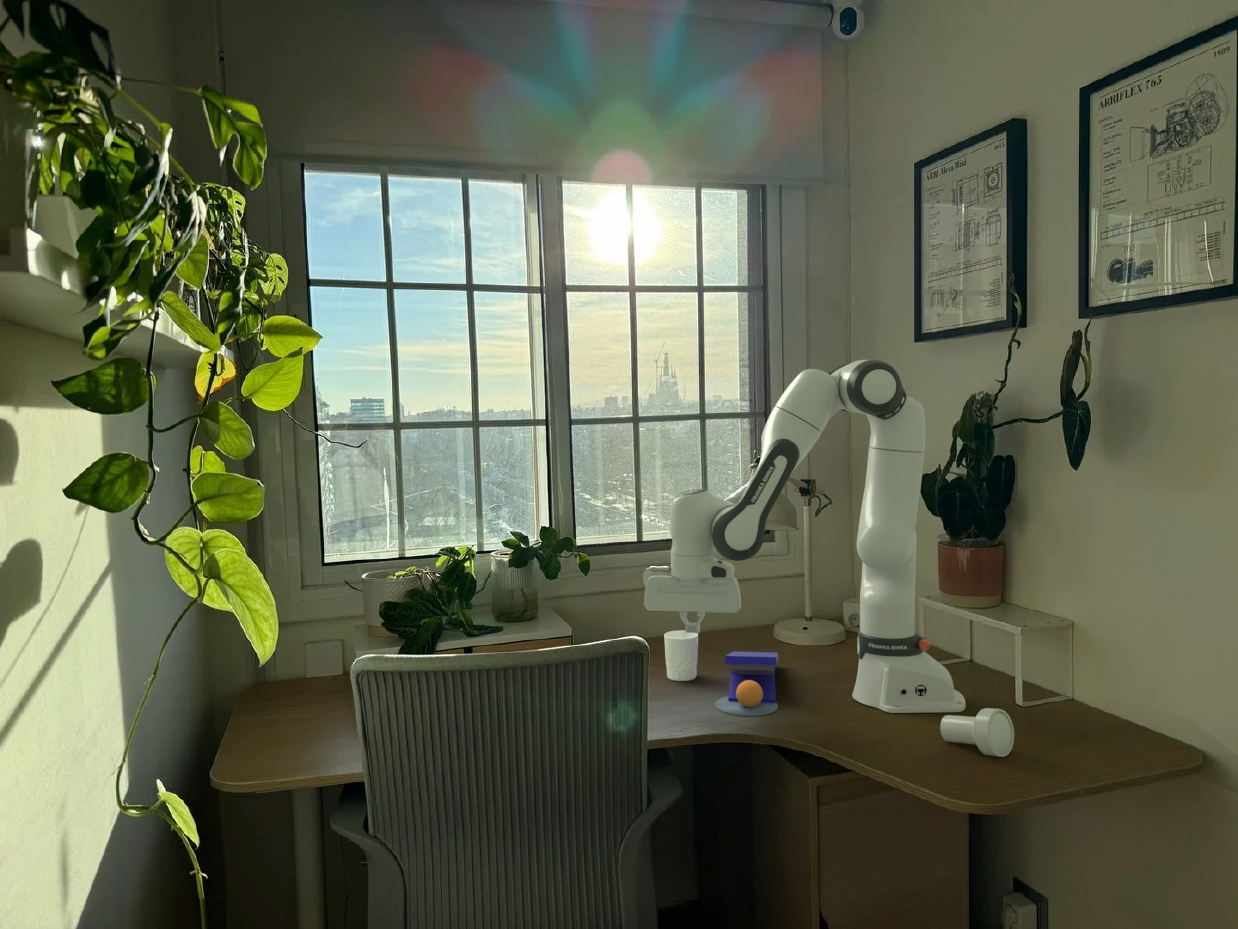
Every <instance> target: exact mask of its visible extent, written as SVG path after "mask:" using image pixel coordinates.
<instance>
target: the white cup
mask: <svg viewBox="0 0 1238 929" xmlns="http://www.w3.org/2000/svg"><path fill="white" fill-rule="evenodd" d="M663 636H664V656H665V666H666V677H667V679H669V680H671V681H678V682H687V681H693V680H695V679H696V677H697V669H698V668H697V666H698V654H699V633H686V632H685V630H671V631H667V632H666V633H663Z"/></svg>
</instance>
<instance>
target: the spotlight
mask: <svg viewBox="0 0 1238 929" xmlns="http://www.w3.org/2000/svg"><path fill="white" fill-rule="evenodd" d="M939 724H940V725H939V726H940V727H939V728H940V734H941V737H942V739H944V741H945V742H947V743H948V742H950V743H958V744H967V745H976V746H977V748H978V750H979V752H981V753H982V754H983V755H985V756H990V755H991V756H990V757H998V758H999V757H1000V758H1004V757H1005V756H1009V754H1010V752H1011V751H1012V749H1013V748H1014V747H1013V745H1014V744H1015V743H1014V742H1015V728H1014V725H1013V724H1014V723H1013V722H1012V719H1011V717H1010V715H1009V714H1008V713H1007V711H1005V710H1004V709H1001V708H989V707H985V708H982V709H980V710H979V712H977V714H976V716H967V715H951V714H947V715H944V716H943V717H942V718H941V721H940V723H939Z"/></svg>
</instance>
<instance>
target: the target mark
mask: <svg viewBox="0 0 1238 929" xmlns="http://www.w3.org/2000/svg"><path fill="white" fill-rule="evenodd" d="M728 696H729V695H727V696H724V697H721V698H719V699H717V700H716V701H715V702H714V708H716V709H717V710H718V711H720V712H722V713H725V714H727V715H732V716H737V717H760V716H766V715H770V714H772V713H775V712H776V711H777V710H778V709H779V705H778V703H777V702H776V703H767V702H760V703H759V704H758V705H757V706H755V707H745V706H743V705H742V704H740V702H739V701H728Z"/></svg>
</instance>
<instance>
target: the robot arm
mask: <svg viewBox="0 0 1238 929" xmlns="http://www.w3.org/2000/svg"><path fill="white" fill-rule="evenodd" d="M839 411H841V412H846V413H851V414H857V415H865V417H866V418H867V420H868V423H869V426H870V438H869V444H868V445H869V446H868V454H867V456H868V457H867V466H866V474H865V484H864V491H863V495H862V496H863V497H862V503H861V507H860V508H861V509H860V515H859V520H858V522H859V523H858V530H857V535H856V536H857V537H856V551H857V555H858V556H859V558H860V560H861V561H862V562H861V563H862V566H861V580H860V581H861V582H860V591H859V605H860V606H859V630H858V632H857V639H856V640H857V645H856V647H857V648H856V649H857V656H858V667H857V673H856V679H855V680H856V681H855V684H854V687H853V691H852V695H851V696H852V699H854V700H855V701H857V702H859V703H860V704H863V705H866V706H869V707H873V708H876V709H879V710H882V711H883V712H885V713H886V712H887V713H890V714H902V713H903V714H905V713H906V714H910V713H913V714H914V713H917V714H918V713H919V714H920V713H961V712H963V711H965V709H966V708H967V707H966V706H967V704H966V699H965V697H964V695H963V694H962V693H961V692H960V691H958V690H956V689H955V688H954V687H955V686H954V681H953V678H952V675H951V674H950V672H949V670H948V669H947V668H946V667H945V666H944V665H943V664H941V663H940V662H939V661H938V660H936V659H935V658H933V657H932V656H931V655H930V654H929V653H927V652H925V651H928V650H929V649H930V647H931V645H930V643H929V641H928V640H927V639H925V637H924V636H922V635H921V634H920V633H917V632H915V631H916V630H915V629H916V628H915V627H916V625H915V624H916V623H915V622H916V619H915V618H916V617H915V615H916V611H915V610H916V606H915V604H916V603H915V602H916V601H915V600H916V597H915V596H916V578H917V577H916V575H917V574H916V572H917V541H918V540H917V532H916V526H917V518H918V516H917V515H918V509H919V502H920V497H921V496H920V495H921V486H922V478H923V470H924V469H923V468H924V461H925V460H924V459H925V451H926V417H925V416H926V415H925V409H924V406H923V405H922V404H921V402H919V401H918V400H916V399H915V398H912V397H910V396H908V395H907V393H906V392H905V389H904V387H903V384H902V380H901V377H900V375H899V374H898V372H897V370H896V369H895V368H894V367H893V366H892V365H890V363H887V362H885V361H882V360H879V359H858V360H855V361H852V362H849V363H844V364H843V365H840V366H838V367H837V368H836V369H834V370H832V371H830V372H826V371H823V370H821V369H818V368H808V369H807V368H806V369H804V370H802V371H801V372H799V373H798V375H797V376H796V377H795V378H794V379H793V380H792V381H791V382H790V384H789V385H788V387H787V388H786V389H785V390H784V392H783V393H782V394H781V396H780V397H779V399H778V401H777V402H776V403H775V405H774V407H773V409H772V410H771V411H770V412H771V413H770V414H769V416H768V418H767V420H766V423H765V425H764V427H763V430H762V431H763V432H762V434H761V439H760V440H761V452H760V453H761V455H760V459H759V463H758V466H757V468H756V470H755V472H754V474H753V475H752V478H751V479H750V480H749V482H748V485H747V486H746V488H745V490H744V491H743V493H742V496H740V498H739V501H737V503H733V502H730V501H727V500H725V499H723V498H721V497H718V496H716V495H715V494H713V493H712V492H711V491H709V490H708V489H705V488H694V489H690V490H684V491H683V492H680V493H678V494H677V495H676V496H674V498H673V500H672V503H671V509H670V523H669V524H670V527H669V528H670V532H669V533H670V535H671V541H672V543H671V548H670V566H668V565H665V566H657V565H651V566H650V567H648V568H646V569H645V570H644V571H643V574H642V575H643V576H642V577H643V579H642V582H643V584H644V586H645V590H644V595H643V596H644V597H643V598H644V599H643V601H644V602H643V606H644V608H645V609H646V610H647V611H656V612H657V611H659V612H661V611H662V612H663V611H664V612H679V618H680V619H681V621H682V623H683V624H684V625H685V626H684V627H685V628H684V629H685V630H684V631H685V632H686V633H697V634H699V633H700V632H701V624H702V621H703V619H704V618H705V617H706V616H705V615H706V613H716V614H717V613H718V614H719V613H721V614H723V613H724V614H737V613H738V612H739V611H740V610H741V608H742V599H741V598H742V597H741V596H742V595H741V589H740V583H739V581H738V579H737V577H736V576H734V575H735V565H734V564H733V563H731V562H728V561H725V560H721V559H718V558H717V557H714V549H716V551H717V553H718V554H719V555H721V556H722V557H724V558H725V559H727V560H730V561H735V562H736V561H737V562H741V561H746V560H748V559H751V558H753V557H754V556H755V555H756V554H757V553H758V552H759V551H760V550H761V548H762V545H763V543H764V540H765V534H766V532H765V531H766V526H767V525H766V524H767V521H768V520H767V519H768V517H769V515H770V514H771V511H772V509H773V507H774V505H775V504H776V502H777V500H778V498H779V496H780V495H781V493H782V490H783V489H784V487H785V486H786V484H787V482H788V480H789V479H790V477H791V475H792V474H793V473H794V472H795V470H796V469H797V468H798V466H799V465H800V463H802V462H803V460H804V458H806V456H807V455H808V454H809V452H810V451H811V450H812V449H813V447H814V446H815V444H816V443H817V442H818V440H819V438H820V437H821V435H822V433H823V431H824V430H825V428H826V426H827V425H828V423H829V420H831V418H832V417H833V416H834V415H836V413H838V412H839ZM688 612H689V613H692V612H693V613H694V612H695V613H697V617H698V619H697V621H696V622H690V621H689V619H688V617H687V616H688Z"/></svg>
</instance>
